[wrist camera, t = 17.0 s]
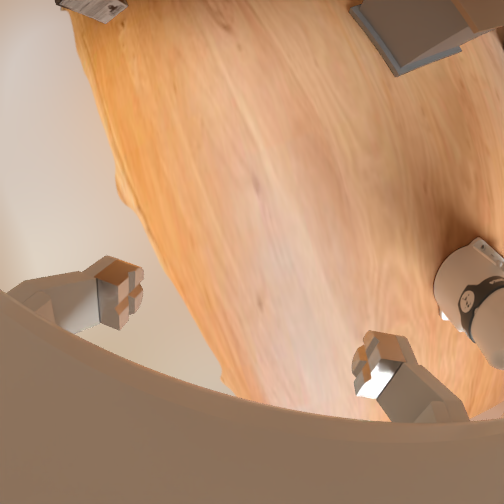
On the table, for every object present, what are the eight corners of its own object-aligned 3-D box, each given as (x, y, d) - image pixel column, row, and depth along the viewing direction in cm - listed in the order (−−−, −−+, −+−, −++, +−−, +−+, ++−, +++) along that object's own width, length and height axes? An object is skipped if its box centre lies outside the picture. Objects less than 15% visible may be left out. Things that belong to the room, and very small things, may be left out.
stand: (414, -8, 28) (473, -74, 4) (457, 53, 31) (545, 18, 7) (348, 12, 33) (384, -77, 9) (395, 77, 36) (479, 31, 12)
